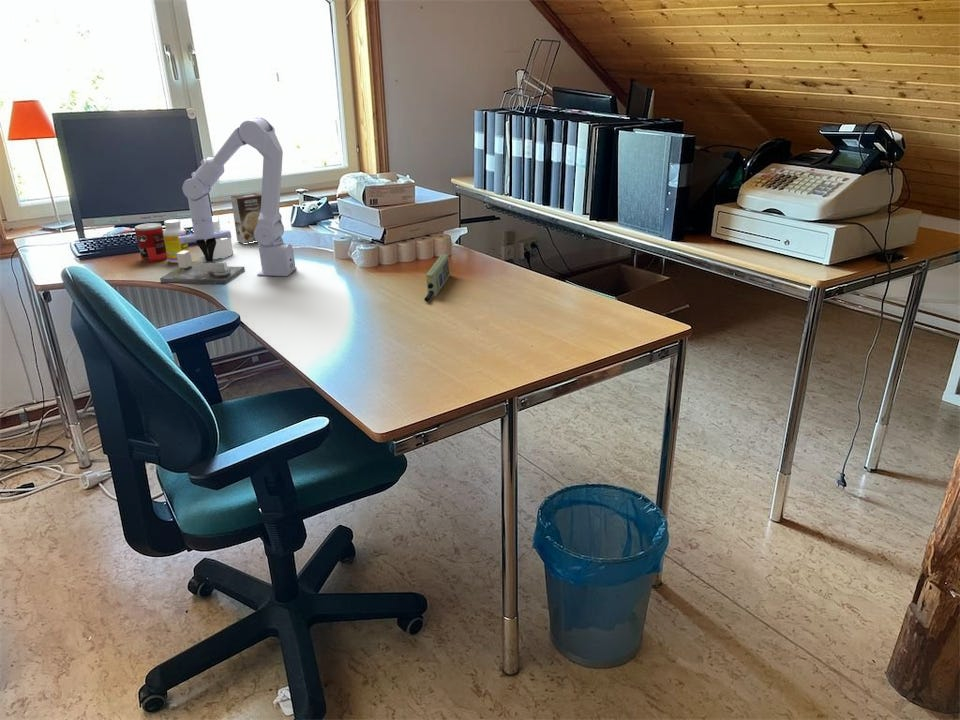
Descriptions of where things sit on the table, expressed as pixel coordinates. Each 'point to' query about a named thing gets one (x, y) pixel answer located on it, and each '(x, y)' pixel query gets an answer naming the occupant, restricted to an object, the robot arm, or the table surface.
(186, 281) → the console plate
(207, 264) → the selector lever
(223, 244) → the base with upright slab
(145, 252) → the canned food
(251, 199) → the coffee box
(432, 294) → the handheld radio
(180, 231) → the supplement bottle
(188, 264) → the cap
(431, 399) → the table surface
